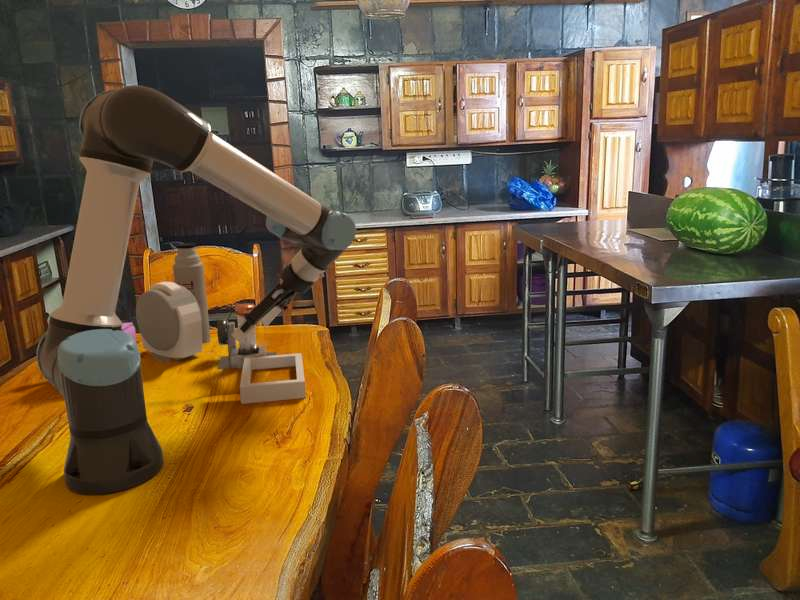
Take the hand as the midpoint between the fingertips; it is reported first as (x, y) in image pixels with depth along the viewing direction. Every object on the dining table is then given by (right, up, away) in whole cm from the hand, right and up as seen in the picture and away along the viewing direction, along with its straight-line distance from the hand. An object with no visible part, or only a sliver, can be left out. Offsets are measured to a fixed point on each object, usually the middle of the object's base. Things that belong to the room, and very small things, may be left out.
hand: (249, 330), depth 152 cm
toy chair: (-40, -7, +16) cm, 44 cm away
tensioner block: (-1, -9, +4) cm, 10 cm away
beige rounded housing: (-22, -8, +10) cm, 26 cm away
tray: (+8, -12, -10) cm, 18 cm away
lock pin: (-1, -8, +1) cm, 8 cm away
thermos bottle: (-21, -5, +24) cm, 32 cm away
